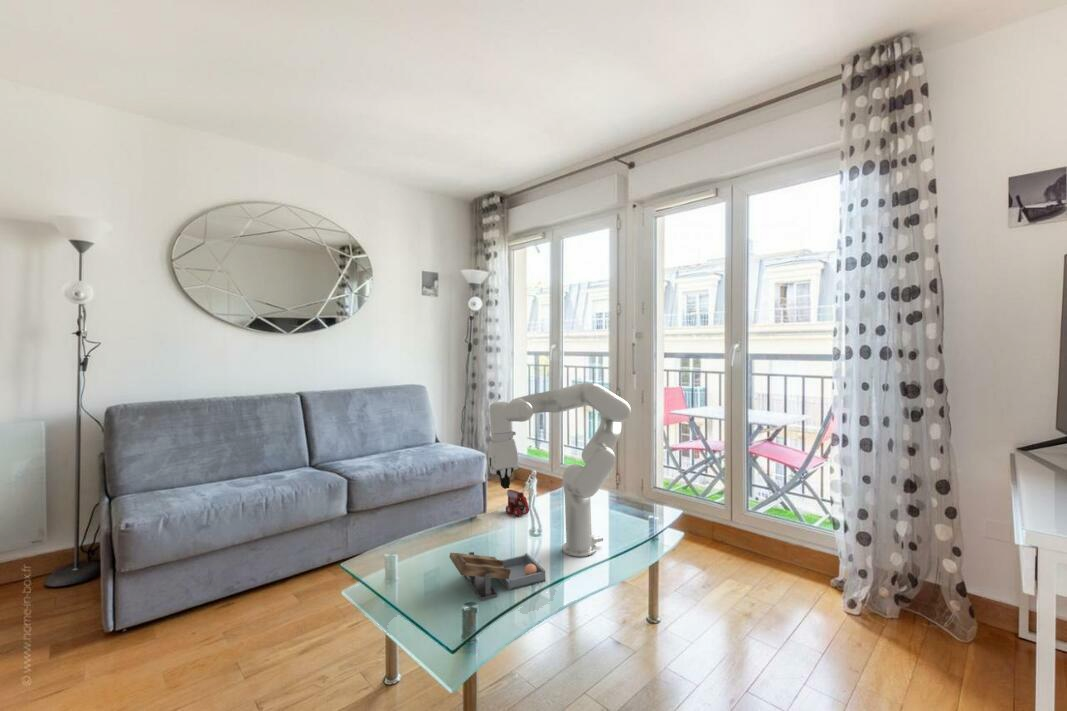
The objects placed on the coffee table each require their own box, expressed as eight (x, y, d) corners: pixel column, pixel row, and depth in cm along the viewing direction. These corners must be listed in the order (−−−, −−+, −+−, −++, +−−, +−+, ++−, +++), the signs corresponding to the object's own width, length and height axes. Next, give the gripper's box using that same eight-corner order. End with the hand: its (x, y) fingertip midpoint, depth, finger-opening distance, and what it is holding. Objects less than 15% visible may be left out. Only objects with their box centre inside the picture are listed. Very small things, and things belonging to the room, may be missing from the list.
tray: (527, 562, 167) (526, 553, 167) (545, 581, 153) (545, 570, 153) (492, 570, 162) (492, 560, 162) (508, 590, 148) (508, 579, 148)
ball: (535, 564, 159) (526, 559, 157) (540, 569, 155) (531, 564, 154) (529, 575, 158) (520, 571, 156) (534, 580, 154) (525, 576, 153)
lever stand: (478, 571, 161) (477, 550, 161) (496, 597, 144) (495, 572, 144) (464, 575, 159) (463, 553, 159) (481, 601, 142) (480, 576, 142)
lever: (493, 561, 162) (495, 550, 162) (509, 579, 148) (511, 568, 149) (448, 556, 155) (451, 545, 156) (461, 575, 142) (464, 563, 142)
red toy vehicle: (522, 518, 211) (521, 495, 211) (503, 513, 220) (502, 490, 220) (532, 514, 216) (532, 492, 216) (513, 509, 225) (513, 487, 225)
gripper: (516, 432, 176) (520, 481, 176) (478, 438, 169) (482, 489, 169) (525, 435, 169) (528, 486, 169) (486, 441, 162) (489, 494, 162)
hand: (505, 487), depth 169 cm, fingers closed
